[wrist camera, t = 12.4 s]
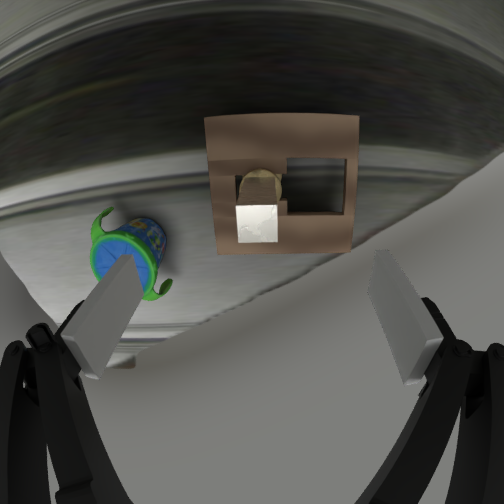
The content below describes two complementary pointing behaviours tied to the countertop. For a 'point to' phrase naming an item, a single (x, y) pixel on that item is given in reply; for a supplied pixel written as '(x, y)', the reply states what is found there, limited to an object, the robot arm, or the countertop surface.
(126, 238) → the snack cup
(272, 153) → the keyhole bracket
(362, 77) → the countertop surface
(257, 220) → the hanger peg
